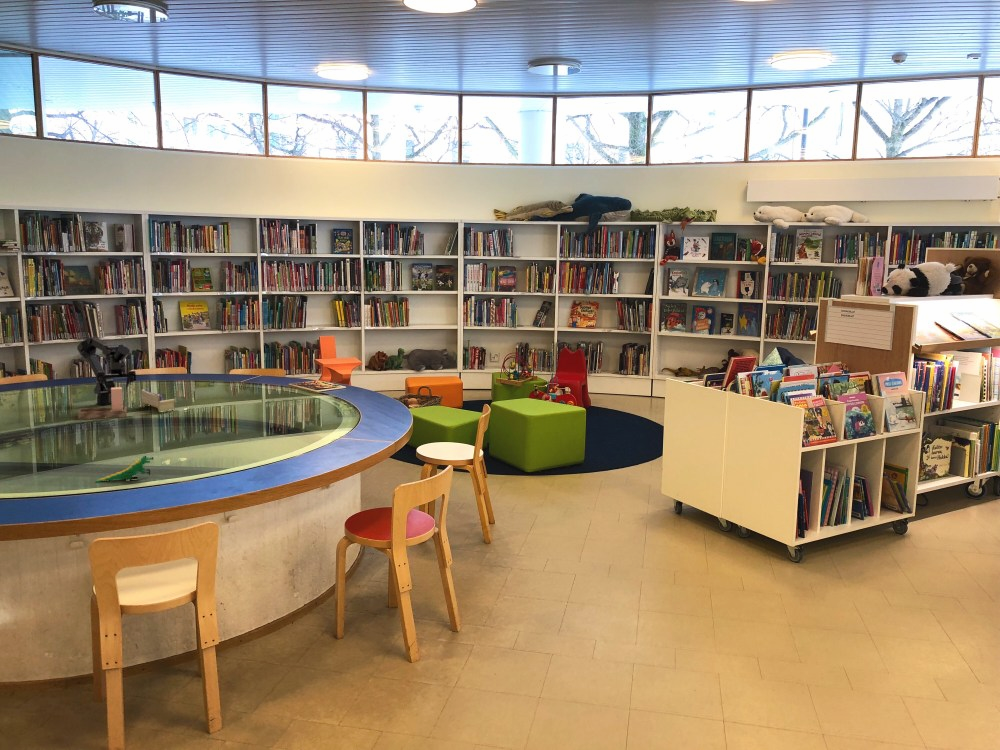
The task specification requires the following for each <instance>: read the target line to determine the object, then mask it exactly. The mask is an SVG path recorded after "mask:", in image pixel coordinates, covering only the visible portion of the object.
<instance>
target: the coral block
mask: <svg viewBox="0 0 1000 750" xmlns="http://www.w3.org/2000/svg"><path fill="white" fill-rule="evenodd" d="M123 399H124V398H123V387H121V386H119V387H116V386H115V388H111V402H112V404H111V407H112V411H117V410H123V407H124V405H123V404H124V402H123Z"/></svg>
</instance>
